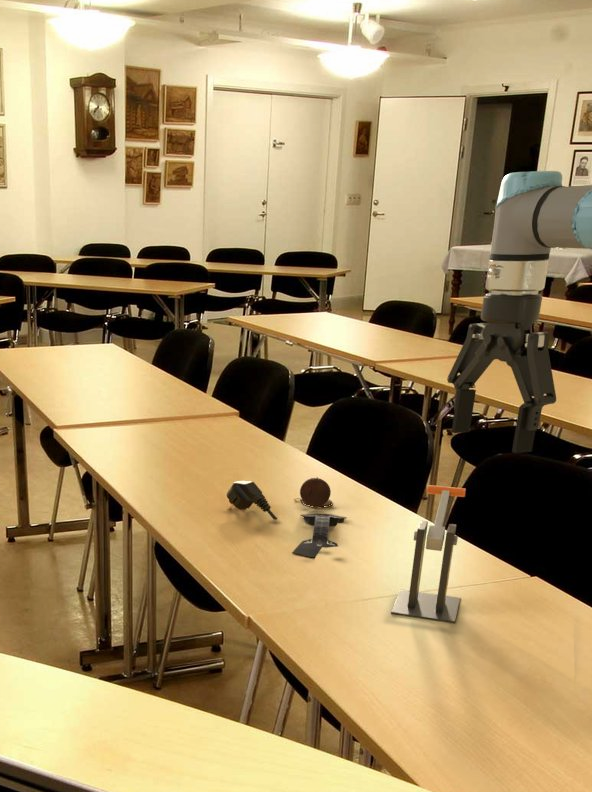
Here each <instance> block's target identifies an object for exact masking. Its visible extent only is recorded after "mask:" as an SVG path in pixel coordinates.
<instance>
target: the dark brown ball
mask: <svg viewBox="0 0 592 792" xmlns="http://www.w3.org/2000/svg"><path fill="white" fill-rule="evenodd" d="M331 493H332V492H331V487H330V485H329V484H328V483H327V481H326V480H324V479H322V478H319V477H318V476H317V477H311V478H308V479H307V480H305V481H304V482H303V483H302V484H301V487H300V489H299V496H300V498H299V497H298V498H294V499H293V500H294V502H297V500H299V501H300V502H302V501H303V502H302V504H303V503H304V504H306V505H310V506H313V507H312V508H314V509H318V508H317V507H321V508H320V509H325V508H326V507H324V506H329V505H331V504H332V503H333V502H334V501H333V500H331V499H330V497H331ZM304 504H303V505H304ZM333 504H334V503H333ZM333 504H332V505H331V506H329V507H332V506H333ZM306 505H305V506H306ZM310 506H307V507H308V508H311V507H310ZM329 507H328V508H329Z"/></svg>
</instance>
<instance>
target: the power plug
mask: <svg viewBox="0 0 592 792" xmlns="http://www.w3.org/2000/svg"><path fill="white" fill-rule="evenodd" d="M226 497H227V499H228V502H229V505H228V506H227V510H231V509H233V507H234V508H236V509H238V510H243V511H246V510H248V509H250V508H251V507H252V506H253V504H254V505H256V506H257V507H258V508H259V509H260V510H262V512H264V513H266V512H267V513H268V515H270V517H271V518H272V520H277V519H278V517H277V516H276V515H275V514H274V513H273V512H272V510H271V508H272V507H271V505H270V503H269V502H268V500H267V498H266V497H265V495H264V494H263V491H262V490H261V489H260V488H259V486H258V485H257V484H256V482H254V481H252V480H251V481H250V480H249V481H248V480H237V481H235V482H233V483H232V485H231V486H230V488H229V489H228V491H227V492H226Z"/></svg>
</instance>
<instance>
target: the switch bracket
mask: <svg viewBox="0 0 592 792" xmlns="http://www.w3.org/2000/svg"><path fill="white" fill-rule="evenodd" d="M428 524H429V521H426V520H421V521H420V522H419V525H418V527H417V530H415V531H414V533H413V541H415V545H414V554H413V562H412V569H411V577H410V585H409V590H408V589H399V591H398V594H397V596H396V599H395V601H394V604H393V607H392V609H391V612H390V615H395V616H400V617H407V618H408V617H409V618H414V619H421V620H428V621H435V622H440V623H441V622H442V623H448V624H456V619H457V617H458V616H457V615H458V611H459V606H460V602H461V599H462V598H461V597H458V596H450V595H447V592H448V586H449V578H450V572H451V567H452V565H451V564H452V558H453V551H454V546H457V545H458V541H459V540H458V539H459V536H458V535H456V531H457V524H454V523H449V524H448V527H447V530H446V532H445V539H444V548H443V554H442V560H441V561H442V562H441V563H442V564H441V567H440V568H441V569H440V575H439V583H438V590H437V594H436V593H431V592H424V591H423V592H422V591H420V585H421V577H422V571H423V562H424V557H425V556H424V555H425V549H426V542H427V534H428V526H429V525H428Z"/></svg>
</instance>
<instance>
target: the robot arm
mask: <svg viewBox="0 0 592 792" xmlns="http://www.w3.org/2000/svg"><path fill="white" fill-rule="evenodd" d="M494 209H495V215H494V222H493V223H494V224H493V231H492V239H491V245H490V254H489V257H488V258H489V260H488V268H487V273H486V280H485V286H484V287H485V289H486V290H487V291H488V293H486V294H484V295H483V299H482V303H481V304H482V305H481V311H480V319H481V321H483V322H480V323H470V324H469V325H468V329H467V334H466V337H465V340H464V342H463V344H462V347H461V349H460V351H459V352H458V355H457V357H456V359H455V361H454V363H453V365H452V367H451V369H450V371H449V374H448V375H447V383H448V384H452V385H453V387H454V389H455V393H454V394H455V395H454V403H453V410H454V413H453V418H452V427H451V433H452V434H462V433H463V434H464V433H470V432H471V427H472V419H473V412H474V406H475V400H476V399H475V398H476V392H477V390H476V389H475V388H476V387H477V386H476V382H477V381H478V380H479V379H480V378H481V377H482V375H483V374H484V373H485V372H486V370H487V369H488V368H489V367H490V365H491V364H492V363H493V361H494V360H498V361H500V362H502V363H503V362H504V363H506V365H507V366H508V367H510V368H511V371H512V373H513V376H514V379H515V382H516V384H517V387H518V390H519V392H520V395H521V398H522V400H523V403H522V404H521V405H520V406H519V407H518V413H517V419H516V424H515V425H516V426H515V431H514V436H513V441H512V448H511V453H514V454H521V453H530V452H533V447H534V441H535V436H536V431H537V430H538V429H539V426H540V422H541V416H542V410H543V407H545V406H547V405H553V404H556V402H557V394H556V389H555V382H554V376H553V370H552V364H551V359H550V351H549V344H550V333H549V332H548V331H539V332H533V330H532V329H533V328H532V327H533V324H534V323H535V322H537V321H538V320H539V319H540V313H541V309H542V308H541V307H542V302H543V296H542V294H540V293H539V292H540V291H542V290H544V289H545V286H546V281H547V280H546V279H547V273H548V268H549V261H550V254H551V249H555V248H559V249H560V248H562V249H585V250H588V249H589V250H591V251H592V184H585V185H571V186H565V185H563V174H562V172H561V171H559V170H535V171H534V170H533V171H517V172H510V173H508V174H506V175H505V176H504V177H503V179H502V180H501V183H500V188H499V192H498V197H497V201H496V204H495V208H494Z"/></svg>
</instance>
